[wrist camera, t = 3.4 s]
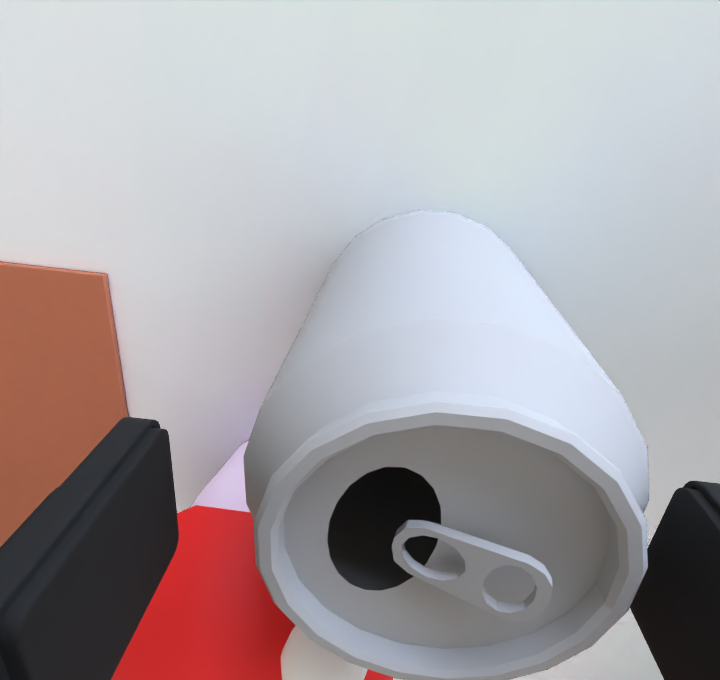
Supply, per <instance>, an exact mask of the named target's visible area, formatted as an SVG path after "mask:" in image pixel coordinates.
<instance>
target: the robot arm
mask: <svg viewBox="0 0 720 680" xmlns="http://www.w3.org/2000/svg"><path fill="white" fill-rule="evenodd" d="M178 540H179V529H178V519H177V510H176V500H175V491H174V481H173V472H172V462H171V453H170V443H169V435H168V432H167V430H165V429H160V424H159V423H158V421H156V420H150V419H141V418H132V417H124V418H122V419H121V420H120V421H119V422H118V423H117V424H116V425H115V426H114V427H113V428H112V429H111V430H110V431H109V433H108V434H107V435H106V436H105V437H104V438H103V439H102V440H101V441H100V442H99V444H98V445H97V446H96V447H95V448H94V449H93V450H92V451H91V452H90V453H89V455H88V456H87V457H86V458H85V459H84V460H83V461H82V462H81V463H80V464H79V465H78V467H77V468H76V469H75V470H74V471H73V472H72V473H71V474H70V475H69V476H68V478H67V479H66V480H65V481H64V482H63V483H62V484H61V485H60V486H59V487H57V488H56V489H55V490H54V491H52V492H51V493H50V494H49V495H48V496H47V497H46V498H45V499H44V500H43V501H42V503H41V504H40V505H39V506H38V507H37V508H36V509H35V510H34V511H33V512H32V513H31V515H30V516H29V517H28V518H27V519H26V520H25V521H24V522H23V523H22V524H21V525H20V526H19V528H18V529H17V530H16V531H15V532H14V533H13V534H12V535H11V536H10V537H9V538H8V539H7V541H6V542H5V543H4V544H3V545H2V546H1V547H0V680H111V678H112V676H113V674H114V672H115V670H116V668H117V666H118V665H119V663H120V661H121V659H122V657H123V655H124V653H125V651H126V649H127V647H128V645H129V643H130V641H131V639H132V637H133V635H134V633H135V631H136V629H137V627H138V625H139V623H140V621H141V619H142V617H143V615H144V613H145V611H146V609H147V607H148V605H149V603H150V601H151V600H152V598H153V596H154V594H155V592H156V590H157V588H158V586H159V584H160V582H161V580H162V578H163V576H164V574H165V572H166V570H167V568H168V566H169V564H170V562H171V560H172V558H173V556H174V554H175V552H176V549H177V545H178ZM647 557H648V568H647V570H646V573H645V575H644V577H643V579H642V581H641V584H640V586H639V588H638V590H637V593H636V595H635V597H634V599H633V601H632V604H631V606H630V608H631V611H632V613H633V615H634V617H635V619H636V621H637V623H638V625H639V627H640V630H641V632H642V634H643V636H644V638H645V640H646V642H647V644H648V646H649V648H650V651H651V653H652V655H653V657H654V659H655V661H656V663H657V665H658V667H659V669H660V672H661V674H662V676H663V678H664V680H720V484H718V483H709V482H700V481H689V482H688V483H686V484H685V485H684V487H683V488H679V489H677V490H676V491H675V493H674V494H673V496H672V498H671V501H670V503H669V505H668V507H667V509H666V511H665V513H664V515H663V517H662V519H661V521H660V524H659V526H658V528H657V530H656V532H655V534H654V536H653V538H652V540H651V542H650V545H649V547H648V549H647Z"/></svg>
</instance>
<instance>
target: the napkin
mask: <svg viewBox="0 0 720 680" xmlns="http://www.w3.org/2000/svg"><path fill="white" fill-rule="evenodd" d="M124 417H128V411H127V404H126V398H125V391H124V385H123V378H122V371H121V365H120V358H119V351H118V345H117V338H116V331H115V325H114V318H113V312H112V305H111V298H110V292H109V285H108V278H107V274H104V273H95V272H86V271H77V270H68V269H59V268H50V267H42V266H33V265H24V264H15V263H6V262H0V547H1V546H2V545H3V544H4V543H5V542H6V541H7V539H8V538H9V537H10V536H11V535H12V534H13V533H14V532H15V531H16V530H17V529H18V528H19V526H20V525H21V524H22V523H23V522H24V521H25V520H26V519H27V518H28V517H29V516H30V515H31V513H32V512H33V511H34V510H35V509H36V508H37V507H38V506H39V505H40V504H41V503H42V501H43V500H44V499H45V498H46V497H47V496H48V495H49V494H50V493H51V492H52V491H54V490H55V489H56V488H57V487H59V486H60V485H61V484H62V483H63V482H64V481H65V480H66V479H67V478H68V476H69V475H70V474H71V473H72V472H73V471H74V470H75V469H76V468H77V467H78V465H79V464H80V463H81V462H82V461H83V460H84V459H85V458H86V457H87V456H88V455H89V453H90V452H91V451H92V450H93V449H94V448H95V447H96V446H97V445H98V444H99V442H100V441H101V440H102V439H103V438H104V437H105V436H106V435H107V434H108V433H109V431H110V430H111V429H112V428H113V427H114V426H115V425H116V424H117V423H118V422H119V421H120V420H121V419H122V418H124Z"/></svg>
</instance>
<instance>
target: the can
mask: <svg viewBox="0 0 720 680" xmlns="http://www.w3.org/2000/svg"><path fill="white" fill-rule="evenodd" d="M243 459H244V475H245V492H246V504H247V506H248V508H249V510H250V513H251V515H252V517H253V519H254V522H253V524H254V543H255V561H256V566H257V568H258V570H259V573H260V575H261V577H262V579H263V581H264V583H265V585H266V587H267V589H268V591H269V593H270V595H271V597H272V599H273V602H274V603H275V604H276V605H277V607H278V608H279V609H280V610H281V611H282V612H283V613H284V614H285V615H286V616H287V617H288V618H289V619H290V620H291V621H292V622H293V623H294V624H295V625H296V626H297V627H298V628H299V629H300V630H301V631H302V632H303V633H304V634H305V635H306V636H307V637H308V638H309V639H310V640H312V641H314V642H315V643H317V644H319V645H320V646H322V647H324V648H325V649H327V650H329V651H330V652H332V653H334V654H335V655H337V656H339V657H340V658H342V659H344V660H345V661H347V662H349V663H351V664H354V665H357V666H360V667H363V668H366V669H369V670H372V671H375V672H378V673H381V674H384V675H387V676H390V677H393V678H396V679H403V680H509V679H513V678H517V677H521V676H525V675H529V674H532V673H536V672H540V671H544V670H548V669H550V668H552V667H553V666H555V665H557V664H559V663H561V662H563V661H565V660H567V659H569V658H571V657H572V656H574V655H576V654H578V653H580V652H582V651H584V650H586V649H588V648H589V647H591V646H593V645H594V644H595V643H596V642H597V641H598V640H599V639H600V638H601V637H602V636H603V635H604V634H605V633H606V632H607V631H608V630H609V629H610V628H611V627H612V626H613V625H614V624H615V623H616V622H617V621H618V620H619V619H620V618H621V617H622V616H623V615H624V614H625V613H626V612H627V611H628V610H629V608H630V606H631V604H632V601H633V599H634V597H635V595H636V593H637V590H638V588H639V586H640V584H641V581H642V579H643V577H644V575H645V573H646V570H647V568H648V557H647V521H646V519H645V517H644V515H643V513H644V510H645V508H646V506H647V503H648V501H649V479H648V447H647V445H646V443H645V441H644V439H643V437H642V435H641V433H640V431H639V429H638V426H637V424H636V422H635V420H634V418H633V416H632V414H631V412H630V410H629V408H628V406H627V404H626V402H625V400H624V398H623V396H622V395H621V393H620V392H619V391H618V389H617V388H616V387H615V385H614V384H613V383H612V381H611V380H610V379H609V377H608V376H607V375H606V373H605V372H604V371H603V370H602V368H601V367H600V366H599V364H598V363H597V362H596V360H595V359H594V358H593V356H592V355H591V354H590V352H589V351H588V350H587V348H586V347H585V346H584V344H583V343H582V342H581V341H580V339H579V338H578V337H577V335H576V334H575V333H574V331H573V330H572V329H571V327H570V326H569V325H568V323H567V322H566V321H565V319H564V318H563V317H562V316H561V314H560V313H559V312H558V310H557V309H556V308H555V306H554V305H553V304H552V302H551V301H550V300H549V298H548V297H547V296H546V294H545V293H544V292H543V290H542V289H541V288H540V287H539V285H538V284H537V283H536V281H535V280H534V279H533V277H532V276H531V275H530V273H529V272H528V271H527V269H526V268H525V267H524V265H523V264H522V263H521V261H520V260H519V259H518V258H517V256H516V255H515V254H514V252H513V251H512V250H511V248H509V247H508V246H507V245H506V244H505V243H504V242H503V241H502V240H501V239H500V238H498V237H497V236H496V235H495V234H494V233H493V232H492V231H491V230H490V229H489V228H487V227H486V226H484V225H482V224H480V223H477V222H475V221H473V220H470V219H468V218H465V217H463V216H461V215H458V214H456V213H453V212H439V211H426V210H416V211H412V212H408V213H404V214H400V215H396V216H392V217H388V218H384V219H382V220H381V221H379V222H378V223H376V224H374V225H373V226H371V227H370V228H368V229H366V230H365V231H363V232H362V233H360V234H358V235H357V236H355V237H354V239H353V240H352V241H351V242H350V243H349V245H348V246H347V247H346V248H345V250H344V251H343V252H342V253H341V254H340V256H339V257H338V258H337V259H336V260H335V262H334V264H333V266H332V268H331V270H330V272H329V273H328V275H327V277H326V279H325V281H324V283H323V285H322V287H321V289H320V291H319V293H318V295H317V297H316V299H315V301H314V303H313V305H312V307H311V309H310V311H309V313H308V315H307V317H306V319H305V321H304V323H303V325H302V327H301V329H300V331H299V333H298V335H297V337H296V339H295V341H294V343H293V345H292V347H291V349H290V351H289V353H288V355H287V357H286V358H285V360H284V362H283V364H282V366H281V368H280V370H279V372H278V374H277V376H276V378H275V380H274V382H273V384H272V386H271V388H270V390H269V392H268V394H267V396H266V398H265V400H264V402H263V404H262V406H261V408H260V411H259V413H258V416H257V419H256V422H255V425H254V428H253V430H252V433H251V436H250V439H249V442H248V444H247V447H246V450H245V453H244V456H243Z"/></svg>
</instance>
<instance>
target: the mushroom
mask: <svg viewBox="0 0 720 680" xmlns="http://www.w3.org/2000/svg"><path fill="white" fill-rule="evenodd" d="M248 442H249V440H248V441H247V442H245V443H243V444H241V445H240V447H239V448H238V449H237V450H236V451H235V453H234V454H233V455H232V456H231V457H230V458H229V460H228V461H227V462H226V463H225V464H224V465H223V467H222V468H221V469H220V470H219V471H218V473H217V474H216V475H215V476H214V477H213V478H212V480H211V481H210V482H209V483H208V484H207V486H206V487H205V488H204V489H203V490H202V491H201V493H200V494H199V495H198V497H197V498H196V500H195V501H194V503H193V504H192V505H191V507H190V508H189V509H186V510H184V511H182V512H180V513H177V519H178V529H179V540H178V545H177V549H176V552H175V554H174V556H173V558H172V560H171V562H170V564H169V566H168V568H167V570H166V572H165V574H164V576H163V578H162V580H161V582H160V584H159V586H158V588H157V590H156V592H155V594H154V596H153V598H152V600H151V601H150V603H149V605H148V607H147V609H146V611H145V613H144V615H143V617H142V619H141V621H140V623H139V625H138V627H137V629H136V631H135V633H134V635H133V637H132V639H131V641H130V643H129V645H128V647H127V649H126V651H125V653H124V655H123V657H122V659H121V661H120V663H119V665H118V666H117V668H116V670H115V672H114V674H113V676H112V678H111V680H393V677H390V676H387V675H384V674H381V673H378V672H375V671H372V670H369V669H366V668H363V667H360V666H357V665H354V664H351V663H349V662H347V661H345V660H344V659H342V658H340V657H339V656H337V655H335V654H334V653H332V652H330V651H329V650H327V649H325V648H324V647H322V646H320V645H319V644H317V643H315V642H314V641H312V640H310V639H309V638H308V637H307V636H306V635H305V634H304V633H303V632H302V631H301V630H300V629H299V628H298V627H297V626H296V625H295V624H294V623H293V622H292V621H291V620H290V619H289V618H288V617H287V616H286V615H285V614H284V613H283V612H282V611H281V610H280V609H279V608H278V607H277V605H276V604H275V603H274V602H273V599H272V597H271V595H270V593H269V591H268V589H267V587H266V585H265V583H264V581H263V579H262V577H261V575H260V573H259V570H258V568H257V566H256V561H255V543H254V524H253V522H254V519H253V517H252V515H251V513H250V510H249V508H248V506H247V504H246V492H245V475H244V459H243V456H244V453H245V450H246V447H247V444H248Z"/></svg>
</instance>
